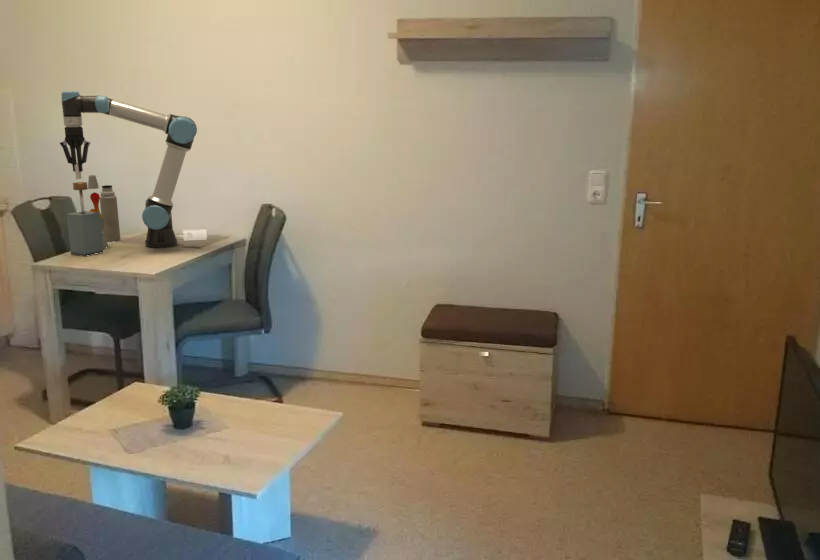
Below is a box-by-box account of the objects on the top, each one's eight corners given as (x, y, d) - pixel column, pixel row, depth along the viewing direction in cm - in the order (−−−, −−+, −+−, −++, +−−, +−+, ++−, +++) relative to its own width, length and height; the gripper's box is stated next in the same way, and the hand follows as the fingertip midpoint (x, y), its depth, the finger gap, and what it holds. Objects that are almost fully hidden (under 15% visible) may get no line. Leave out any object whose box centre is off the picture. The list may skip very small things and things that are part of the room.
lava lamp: (113, 246, 378) (106, 174, 370) (102, 249, 369) (95, 176, 361) (96, 245, 380) (88, 174, 372) (85, 249, 371) (77, 176, 363)
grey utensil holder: (103, 252, 363) (99, 212, 358) (85, 256, 354) (81, 215, 350) (88, 250, 367) (84, 211, 363) (70, 254, 359) (66, 213, 354)
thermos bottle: (108, 238, 397) (103, 184, 391) (123, 239, 396) (118, 184, 390) (100, 241, 389) (95, 186, 383) (116, 242, 389) (110, 186, 382)
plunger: (97, 228, 360) (92, 182, 355) (83, 231, 353) (78, 184, 348) (85, 227, 363) (81, 181, 358) (72, 229, 356) (67, 183, 351)
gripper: (55, 126, 343) (61, 179, 349) (85, 126, 344) (90, 179, 349) (62, 126, 350) (67, 178, 356) (91, 126, 351) (96, 178, 356)
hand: (78, 178), depth 352 cm, fingers closed
